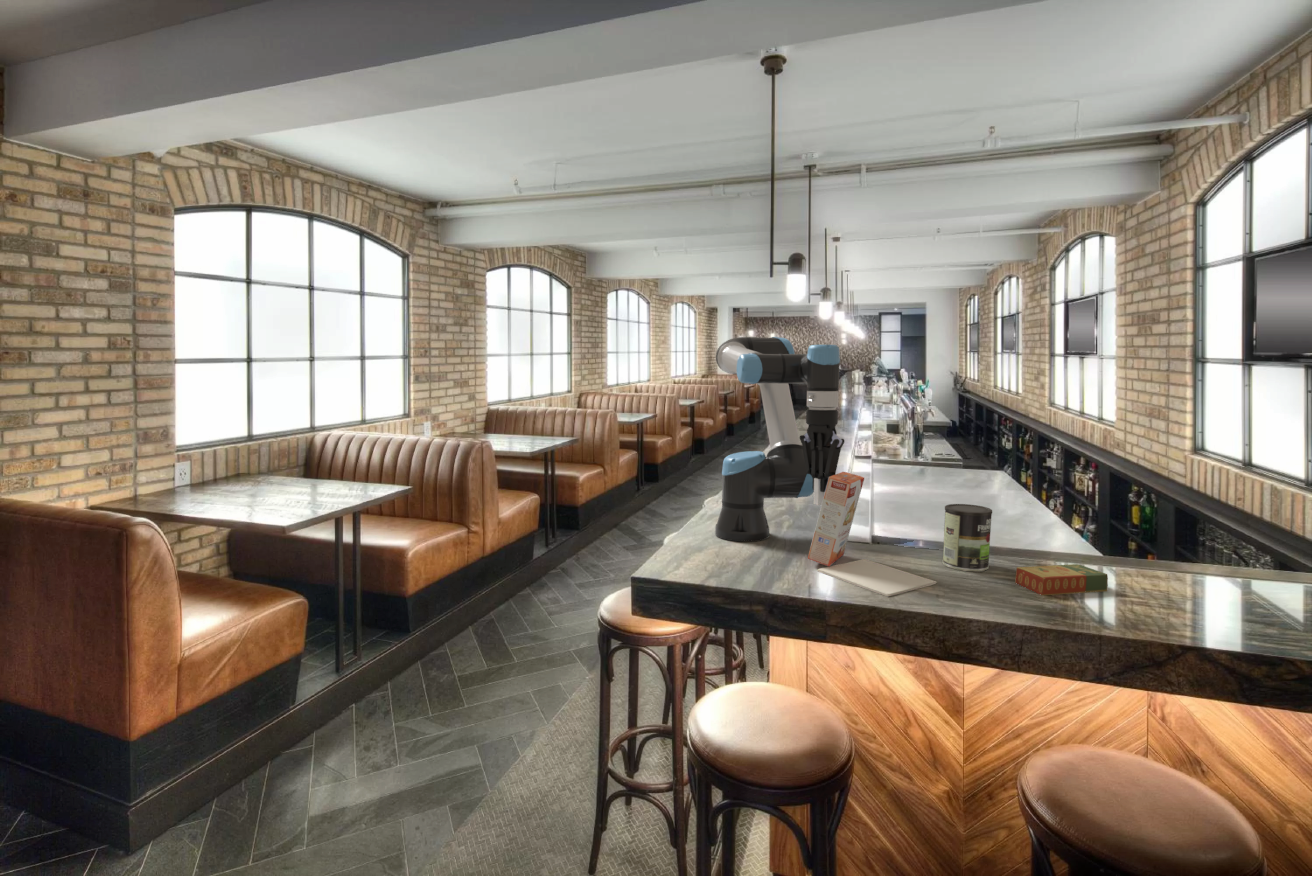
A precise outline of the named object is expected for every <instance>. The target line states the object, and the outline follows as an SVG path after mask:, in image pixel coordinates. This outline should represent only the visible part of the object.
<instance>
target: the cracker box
mask: <svg viewBox="0 0 1312 876" xmlns="http://www.w3.org/2000/svg"><path fill="white" fill-rule="evenodd" d="M864 481H865V477H863V476H861V475H858V474H855V473H851V472H846V471H841V472H838V473H836V474H835V475H833V476H830V477H829V479H828V482H827V486H826V490H825V494H824V497H823V501H822V505H820V510H819V514H818V517H817V519H816V520H817V521H816V525H815V529H814V532H813V536H812V540H811V544H810V547H809V552H808V556H807V559H808V560H810V561H813V562H816V563H818V564H820V565H824V566H826V567H830V566H832V565H833V564H834V563H835V562H836V561H838V560H839V559H840V558H841V557H844V555H845V550H846V547H847V544H848V540H849V536H850V532H851V528H852V525H853V521H854V517H855V513H856V510H857V507H858V503H859V500H860V499H859V498H860V496H861V492H862V489H863V485H864Z"/></svg>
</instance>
